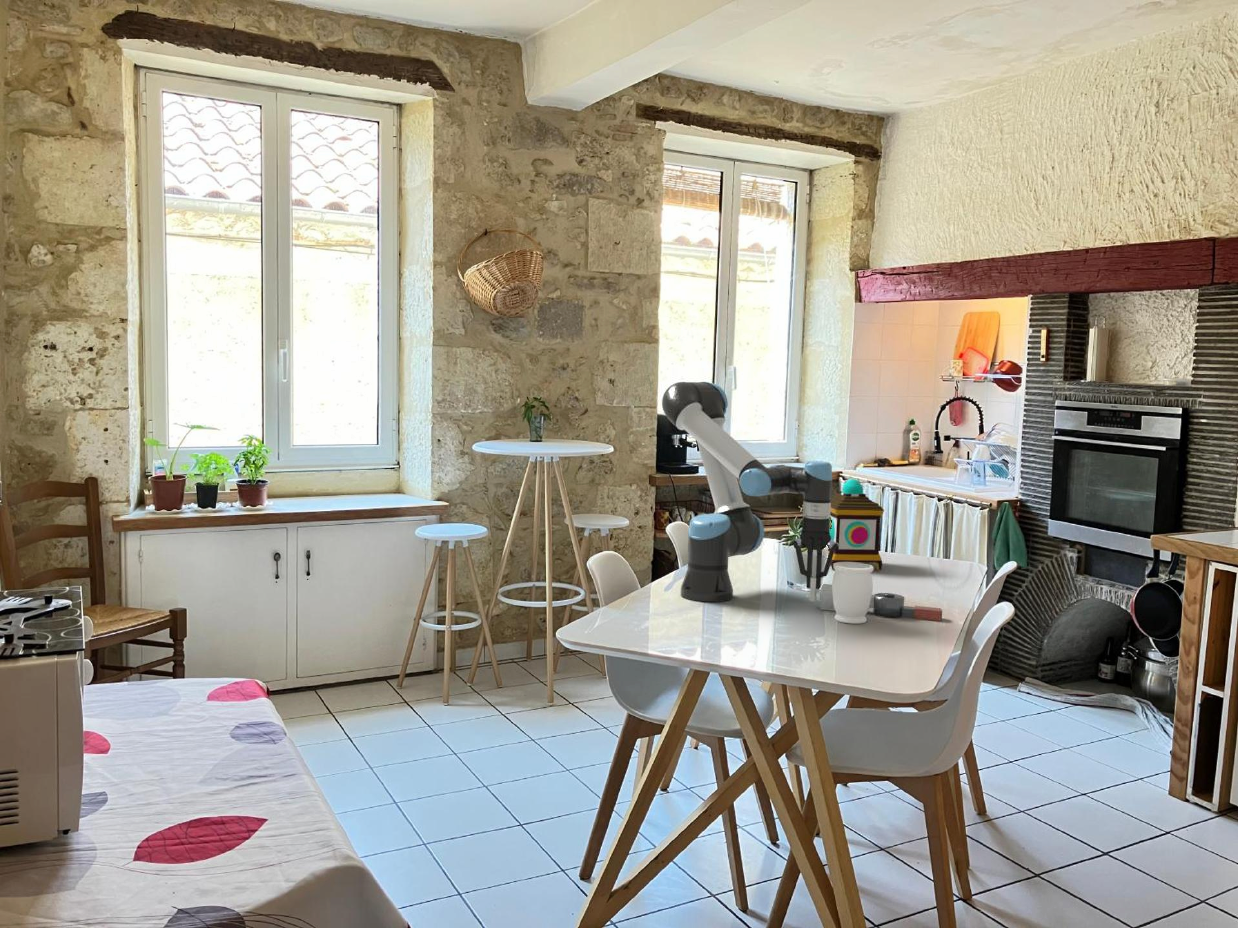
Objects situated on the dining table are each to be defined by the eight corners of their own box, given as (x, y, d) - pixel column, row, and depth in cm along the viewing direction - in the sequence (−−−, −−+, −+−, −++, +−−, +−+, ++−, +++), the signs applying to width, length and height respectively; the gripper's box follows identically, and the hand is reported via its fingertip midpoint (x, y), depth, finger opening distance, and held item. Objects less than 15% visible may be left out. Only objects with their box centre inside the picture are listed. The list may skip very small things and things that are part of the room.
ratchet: (857, 614, 270) (858, 594, 269) (859, 608, 277) (860, 588, 277) (941, 623, 263) (943, 602, 263) (941, 616, 271) (942, 596, 270)
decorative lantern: (811, 559, 347) (815, 474, 344) (865, 560, 350) (870, 475, 347) (829, 571, 328) (834, 481, 325) (887, 571, 330) (892, 482, 327)
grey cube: (818, 609, 274) (820, 587, 273) (821, 604, 280) (822, 583, 279) (842, 611, 272) (843, 590, 271) (843, 606, 278) (845, 585, 277)
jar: (847, 627, 256) (850, 570, 255) (822, 617, 265) (825, 562, 264) (879, 623, 261) (882, 567, 260) (852, 613, 270) (855, 560, 269)
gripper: (791, 517, 273) (787, 600, 275) (839, 520, 269) (835, 605, 271) (794, 513, 280) (791, 595, 283) (841, 516, 276) (837, 599, 279)
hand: (812, 599), depth 277 cm, fingers closed
